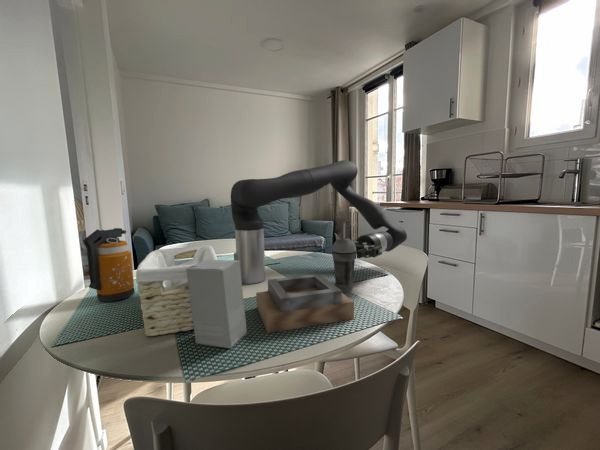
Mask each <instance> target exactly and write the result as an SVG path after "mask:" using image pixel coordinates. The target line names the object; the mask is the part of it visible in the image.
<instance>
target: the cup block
mask: <svg viewBox="0 0 600 450" xmlns="http://www.w3.org/2000/svg"><path fill="white" fill-rule="evenodd" d="M255 293H256V294H255V295H256V296H255V297H256V309H257V312H258V314H259V316H260V318H261V321H262V324H263V325H264V328H265V331H266V333H267V334H271V333H276V332H277V333H278V332H283V331H288V330H294V329H300V328H306V327H313V326H318V325H325V324H329V323H330V324H331V323H337V322H343V321H349V320H354V319H355V301H354V300H352V299H351V298H349V297H348V296H347V295H345V293H344V292H342V290H340V289H339V288H337V287H336V284H334V283H332V282H331V281H329V280H328V279H327V278H325V277H324V276H323V275H321V274H320V273H315V274H308V275H298V276H297V275H296V276H289V277H279V278H270V279H267V290H266V291H265V290H264V291H257V292H255Z"/></svg>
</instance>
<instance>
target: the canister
mask: <svg viewBox="0 0 600 450" xmlns="http://www.w3.org/2000/svg"><path fill="white" fill-rule="evenodd" d="M126 233H127V230H125V229H123V228H118V227H114V228H113V229H112V228H111V229H95V231H93V232H92V233H91V234H89V235H88V236H87V237H85V238H84V239H83V240H82V242H83V244H84V246H85V248H86V256H87V262H88V263H87V264H88V272H89V273H88V274H89V282H90V283H89V286H88V288H90V289H92V290H96V293H97V294H96V298H97V299H96V300H98V301H100V302H101V301H102V302H110V303H111V302H116V301H122V300H124V299H127V298H129V297H130V296H132V295H134V294H135V282H134V271H133V261H132V260H133V259H132V251H130V250H129V243H128V242H127V241H126V240H120V238H121V237H123V235H124V234H126ZM122 234H123V235H122Z"/></svg>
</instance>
